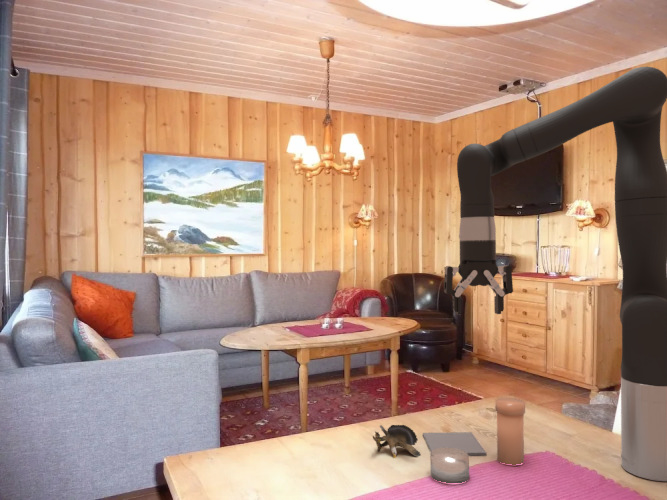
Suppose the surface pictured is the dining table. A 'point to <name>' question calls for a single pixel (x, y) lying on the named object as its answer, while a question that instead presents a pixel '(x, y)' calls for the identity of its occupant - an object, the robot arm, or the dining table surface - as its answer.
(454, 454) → the metal tin
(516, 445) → the peach dome-topped cylinder
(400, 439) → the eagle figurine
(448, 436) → the slate coaster
